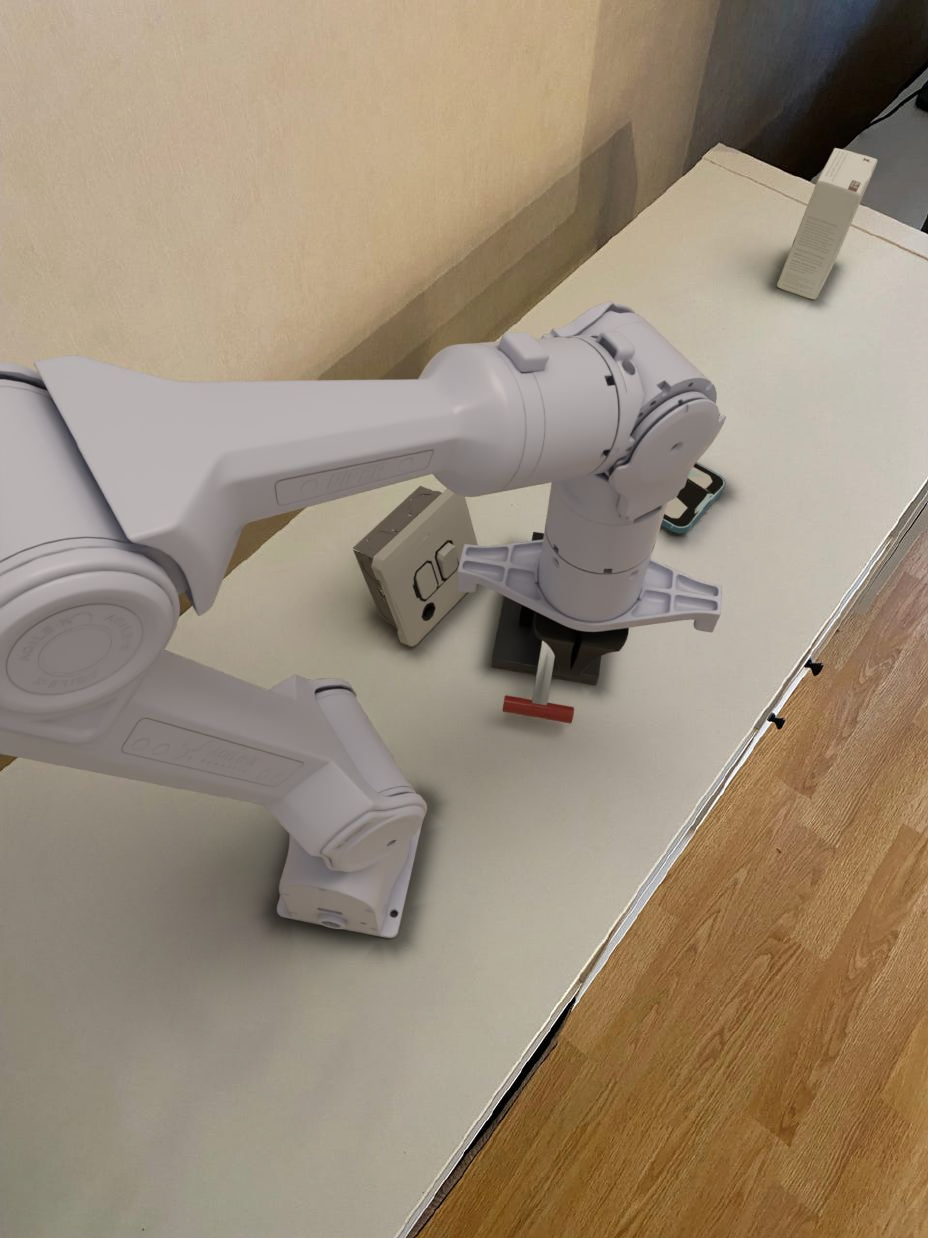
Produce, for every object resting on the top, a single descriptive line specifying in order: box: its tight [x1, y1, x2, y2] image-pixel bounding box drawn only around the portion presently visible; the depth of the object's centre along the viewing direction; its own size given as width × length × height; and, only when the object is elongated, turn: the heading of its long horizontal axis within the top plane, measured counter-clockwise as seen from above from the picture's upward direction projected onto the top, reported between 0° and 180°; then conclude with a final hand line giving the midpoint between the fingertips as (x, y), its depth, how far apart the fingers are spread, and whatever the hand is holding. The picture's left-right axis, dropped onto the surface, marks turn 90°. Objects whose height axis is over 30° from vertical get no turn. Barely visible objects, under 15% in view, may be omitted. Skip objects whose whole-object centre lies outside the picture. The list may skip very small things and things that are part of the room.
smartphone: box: [661, 461, 726, 534], centre depth 83 cm, size 7×1×15 cm
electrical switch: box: [352, 485, 479, 647], centre depth 72 cm, size 9×5×9 cm, turn 141°
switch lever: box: [501, 641, 575, 725], centre depth 70 cm, size 12×5×2 cm, turn 169°
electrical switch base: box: [490, 531, 602, 686], centre depth 72 cm, size 11×8×7 cm
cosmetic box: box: [776, 147, 878, 300], centre depth 92 cm, size 6×4×12 cm
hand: (571, 661), depth 61 cm, fingers closed
